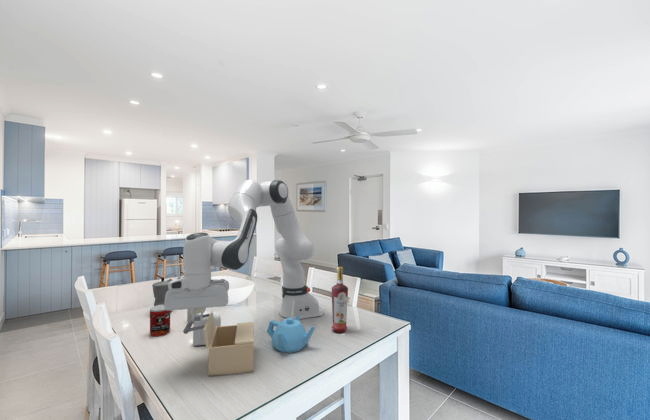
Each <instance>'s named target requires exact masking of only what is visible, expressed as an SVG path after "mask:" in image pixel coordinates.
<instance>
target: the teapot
mask: <svg viewBox="0 0 650 420" xmlns="http://www.w3.org/2000/svg"><path fill="white" fill-rule="evenodd" d="M274 327H275V329H274ZM315 329H316V326H313V325H312V326H310V328H309V330H308V331H306V329H305V327H304V325H303V324H302V322H301V319H300V316H296V318H295V320H294V319H293V318H287V317H286V318H285V319H283V320H281V321H280V322H279V321H277V320H274V319H271V320H270V321H269V323H268V327H267V329H266V333H267V334H268V336H270V338H271V344H272V346H273V348H274V349H275V350H276V351H278V352H281V353H289V354H290V353H295V352H299V351H301V350H303V349H304V348H305V347H306V345H307V344H308V342H309V341H310V338H311V336H312V335H313V333H314V331H315Z"/></svg>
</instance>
